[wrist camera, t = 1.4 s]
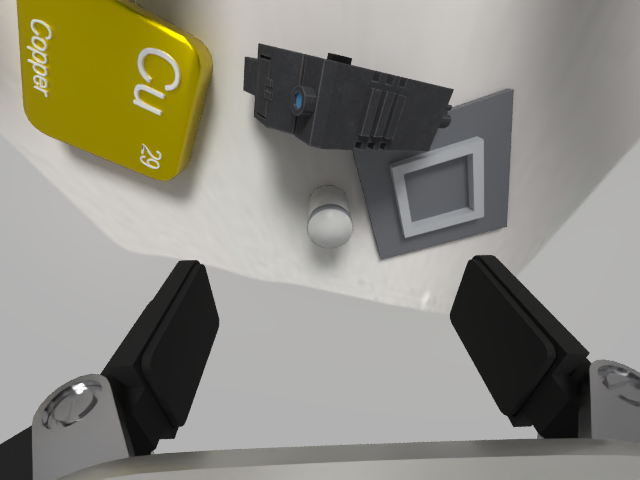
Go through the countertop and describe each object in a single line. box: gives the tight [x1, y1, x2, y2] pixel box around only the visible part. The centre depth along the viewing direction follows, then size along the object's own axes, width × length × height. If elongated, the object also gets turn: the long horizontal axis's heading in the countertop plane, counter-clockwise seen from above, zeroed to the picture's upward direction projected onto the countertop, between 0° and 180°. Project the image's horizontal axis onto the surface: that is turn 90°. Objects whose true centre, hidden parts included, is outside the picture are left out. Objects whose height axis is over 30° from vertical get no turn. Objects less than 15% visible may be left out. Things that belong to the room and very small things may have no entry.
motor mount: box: [353, 89, 514, 259], centre depth 36 cm, size 18×18×2 cm
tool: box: [244, 43, 454, 152], centre depth 27 cm, size 6×19×15 cm, turn 79°
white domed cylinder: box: [307, 186, 353, 248], centre depth 35 cm, size 5×5×7 cm
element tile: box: [17, 0, 213, 181], centre depth 29 cm, size 15×15×5 cm
